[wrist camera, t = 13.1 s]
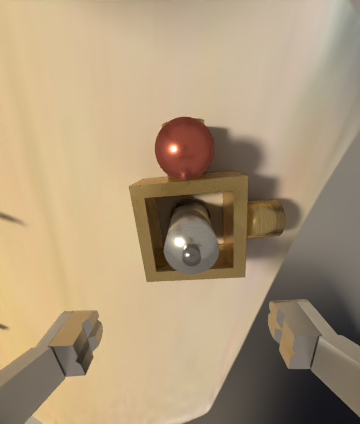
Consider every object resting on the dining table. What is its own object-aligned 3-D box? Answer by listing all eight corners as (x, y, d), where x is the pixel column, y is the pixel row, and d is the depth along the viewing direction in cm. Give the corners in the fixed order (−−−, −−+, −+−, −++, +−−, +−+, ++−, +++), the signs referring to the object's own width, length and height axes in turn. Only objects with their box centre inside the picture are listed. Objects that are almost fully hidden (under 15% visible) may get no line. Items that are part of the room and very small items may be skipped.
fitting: (155, 255, 23) (143, 291, 17) (135, 132, 18) (109, 120, 12) (264, 249, 22) (293, 285, 16) (273, 116, 17) (319, 95, 11)
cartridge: (173, 235, 22) (163, 286, 14) (168, 199, 21) (155, 231, 12) (210, 233, 22) (224, 283, 13) (208, 196, 20) (224, 226, 12)
